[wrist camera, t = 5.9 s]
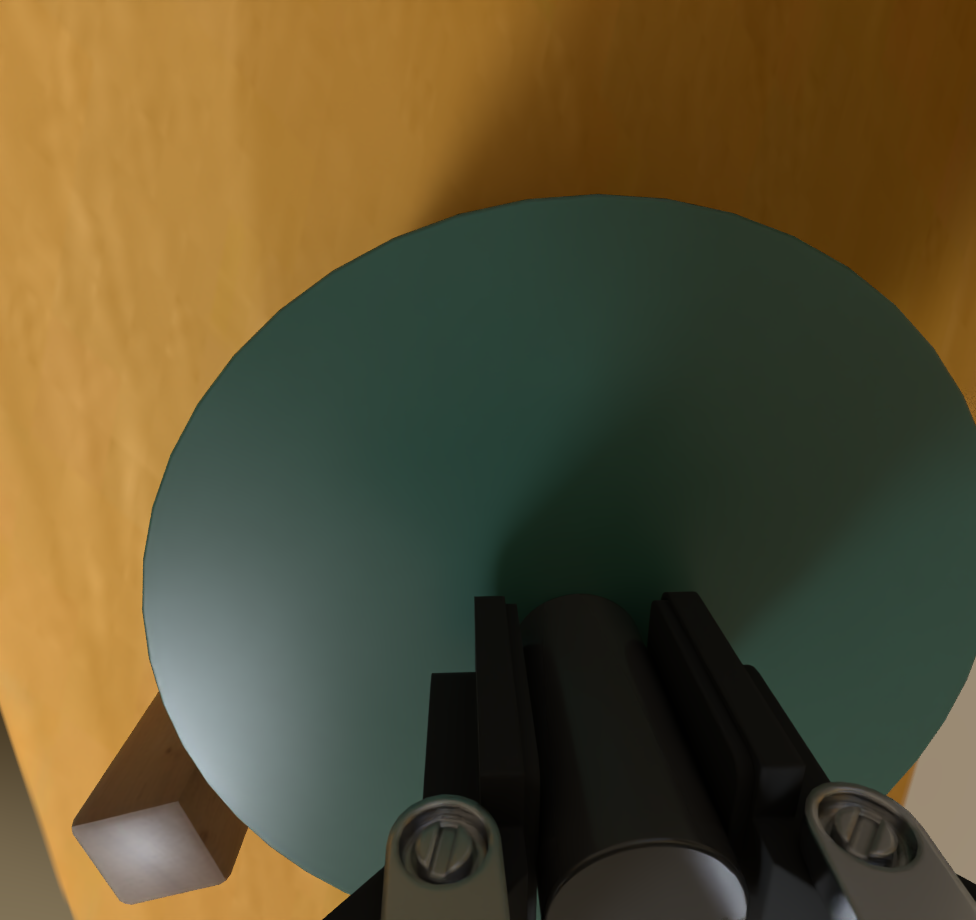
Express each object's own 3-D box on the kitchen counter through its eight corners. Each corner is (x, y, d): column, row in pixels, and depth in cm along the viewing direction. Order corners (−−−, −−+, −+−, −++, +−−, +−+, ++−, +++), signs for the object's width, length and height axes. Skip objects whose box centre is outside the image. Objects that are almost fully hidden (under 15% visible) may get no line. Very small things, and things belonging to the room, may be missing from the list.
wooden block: (258, 642, 28) (178, 800, 20) (293, 714, 29) (230, 887, 22) (171, 665, 28) (61, 829, 21) (210, 735, 29) (120, 912, 22)
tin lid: (229, 901, 16) (92, 1299, 10) (86, 197, 10) (-398, 169, 4) (868, 876, 16) (1093, 1240, 10) (1059, 194, 11) (1747, 168, 5)
